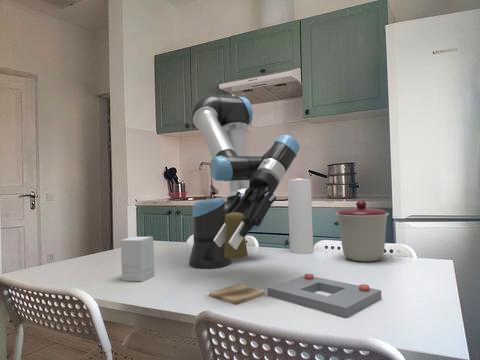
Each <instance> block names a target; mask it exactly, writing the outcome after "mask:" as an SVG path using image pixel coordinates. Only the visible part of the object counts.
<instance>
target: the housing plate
mask: <svg viewBox="0 0 480 360" xmlns="http://www.w3.org/2000/svg"><path fill="white" fill-rule="evenodd" d="M266 290H267V296H269V297H272V298H276V299H279V300H283V301H285V302H286V301H287V302H289V303H292V304H297V305H300V306H303V307H307V308H311V309H314V310H318V311H321V312H325V313H328V314H333V315H335V316H339V317H343V318H346V319H347V318H349V317H350V316H352V315H354V314H356V313H358V312H359V311H361V310H363V309H365V308H367V307H369V306H371V305H373V304H374V303H377V302H378V301H380V300H382V290H381V289H378V288H373V287H370V285H368V284H363V283H362V284H359V285H357V284H353V283H347V282H344V281H338V280H334V279H333V280H332V279H329V278H323V277H318V276H314V274H313V273H305V274H304V275H302V276H301V275H300V276H298V277H295V278H291V279H289V280H286V281H284V282H280V283H278V284H274V285H271V286H267V289H266ZM317 291H322V292H325V293H329V295H324V294H320V293H316V292H317Z"/></svg>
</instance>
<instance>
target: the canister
mask: <svg viewBox="0 0 480 360" xmlns="http://www.w3.org/2000/svg"><path fill="white" fill-rule="evenodd" d="M355 205H356V207H354V208H353V207H351V208H345V209H341V210H339V211H338V212H336V213H335V216H336V217H337V220H338V221H337V222H338V228H339V229H338V230H339V235H340V241H341V247H342V253H343V255H344V257H345V258H346V259H348V260H350V261H355V262H362V263H363V262H365V263H366V262H367V263H369V262H371V263H372V262H377V261H379V260H381V259H382V258H383V256H384V254H385V245H386V237H387V236H386V234H387V219H388V216H389V215H390V214H389V212H386V210H384V209H381V208H375V207H373V208H372V207H367V201H365V200H358V201H356V203H355Z"/></svg>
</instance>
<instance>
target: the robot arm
mask: <svg viewBox="0 0 480 360" xmlns="http://www.w3.org/2000/svg"><path fill="white" fill-rule="evenodd" d="M191 108H192V109H191V113H190V117H191V121H192V123H193V125H194V127H195V128H196V129H198V130H199V132H200V134H201V136H202V138H203V140H204V143H205V144H206V147H207V149H208V152H209V153H210V155H211V160H210V167H209V169H210V176H211V177H212V179H213V180H214V181H217V182H218V181H223V182H228V186H229V194H228V195H227V196H226V200H225V198H224V197H215V198H209V199H208V198H207V199H203V200H199V201H196V202H195V203H194V204H192V215H191V216H192V233H193V234H192V235H193V244H192V248H191V252H190V256H189V257H188V258H189V261H188V262H189V266H190V267H192V268H195V269H214V268H215V269H217V268H223V267H227V266H229V265H231V264H232V258H227V257H224V254H225V243H226V232H227V225H226V224H225V216H226V214H228V213H233V212H238V213H242V214H243V215H244V217H245V218H244V219H245V220H244V219H243V220H244V221H245V222H241V223H240V225H239V226H238V228H237V229H236V231H235V233H234V234H233V236H232V237H231V239H230V241H229V242H228V243H229V244H230V245H231V246H232V247H233V248H234V249H236V250H237V248H238V246H239V245H240V243H241V241H242V240H243V238H244V237H245V238H246V236H247V235H248V234H249V232H252V231H257V230H259V229H260V228H261V227H262V226H263V223H264V221H265V216H266V215H267V213H268V211H269V209H270V208H271V206H272V205H273V203H274V202H276V200H277V196H276V194H274V193H275V191H276V190H277V188H278V186H279V185H280V183H281V182H282V180H283V178H284V177H285V175H286V173H287V171H288V170H289V168H290V167H291V165H292V163H293V161H294V160H295V158H296V157H297V155H298V153H299V151H300V142H298V140H297V139H295V138H294V136H292V135H289V134H281V135H279V136H278V137H277V139H276V140H275V141H274V142H273V144H272V145H271V147H270V148H269V149H268V150H267V151H266V152H265V153H264V154H263V155H260V156H259V155H258V156H257V155H256V156H255V155H250V156H249V151H248V144H247V142H248V141H247V134H246V132H247V130H248V129H250V128H249V126H250V125H251V124H252V122H253V115H254V114H253V113H254V112H253V107H252V103H251V101H249V99H248V98H247V97H244V96H239V95H226V94H225V95H223V94H212V93H211V94H205V95H203V96H201V97H200V98H198V99H197V100H196V101H195V103H194V104H193V106H192V107H191Z"/></svg>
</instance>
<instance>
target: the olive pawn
mask: <svg viewBox="0 0 480 360" xmlns="http://www.w3.org/2000/svg"><path fill="white" fill-rule="evenodd" d="M244 218H245V217H244V215H243V214H242V213H238V212H233V213H228V214H226V216H225V224H226V225H227V232H226V243H225V254H224V257H227V258H231V259H241V258H245V257H248V255H249V254H248V248H247V242H246V236H245V237H244V238H243V240H242V241H241V243H240V245H239V246H238V248H237V250H236V249H234V248H233V247H232V246H231V245H230V244H229V243H228V242H229V241H230V239H231V237H232V236H233V234H234V233H235V231H236V229H237V228H238V226H239V225H240V223H241V222H245V221H244V220H245V219H244ZM243 219H244V220H243Z"/></svg>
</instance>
